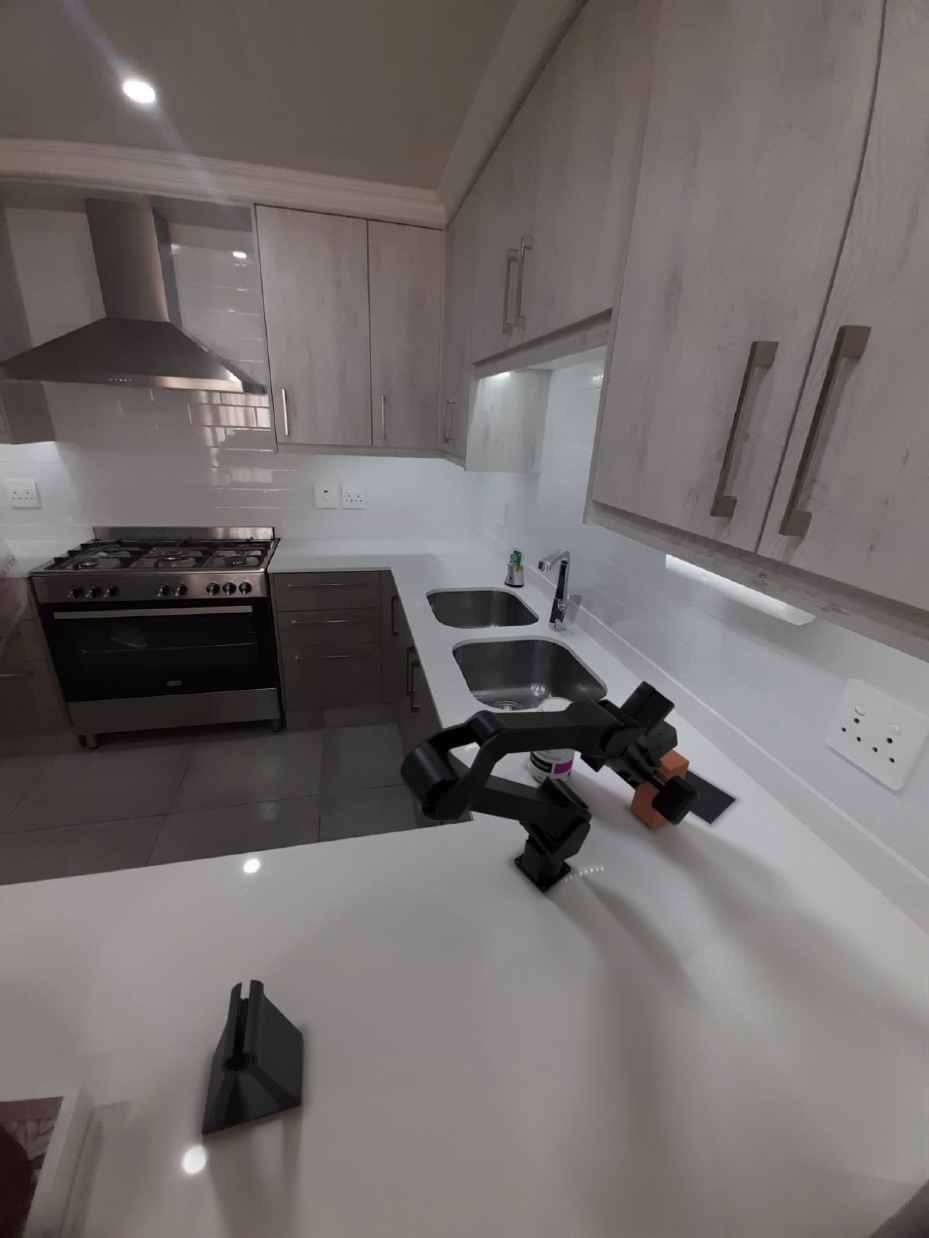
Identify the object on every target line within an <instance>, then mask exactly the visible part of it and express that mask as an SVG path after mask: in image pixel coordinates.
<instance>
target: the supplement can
mask: <svg viewBox="0 0 929 1238" xmlns="http://www.w3.org/2000/svg"><path fill="white" fill-rule="evenodd" d="M570 703H574V702H573V701H572V700H569V699H567V698H564V697H559V696H555V697H554V696H552V697H547V698H545V699H543V700H542V701H541V702H540V705H539V706H537V709H536V711H535V712H547V711H562V710H565V709H566V708H567V706H568V705H569V704H570ZM575 754H576V751H575V750H572V749H558V750H546V751H535V752H529V755H528V756H529V758H528V765H527V767H528V771H529V772H530V775H532V776H533V778H535V780H537V781H539V782H541V783H542V782H544V780H545V779H546V777H547V776H549V777H551V778H553V779H558V778H560V779H561V780H562V781H563V782H564V783H565V782H566V781H568V780H569V779H570V777H571V774H572V769H573V765H574V764H573V763H574V758H575Z"/></svg>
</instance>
